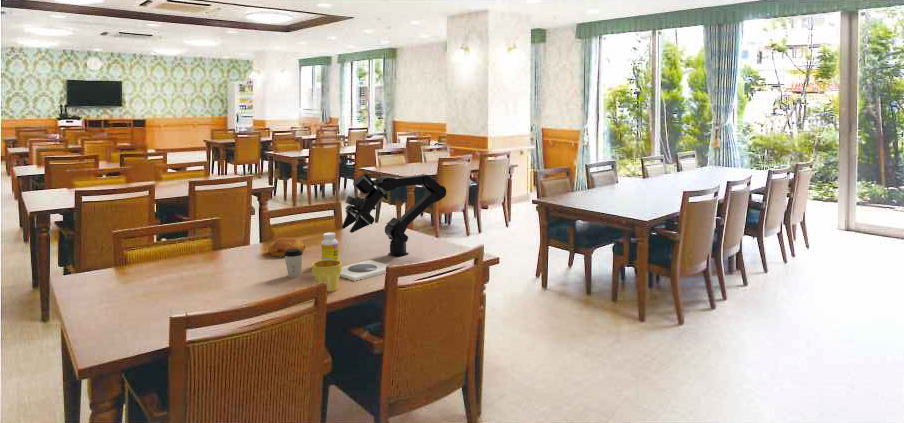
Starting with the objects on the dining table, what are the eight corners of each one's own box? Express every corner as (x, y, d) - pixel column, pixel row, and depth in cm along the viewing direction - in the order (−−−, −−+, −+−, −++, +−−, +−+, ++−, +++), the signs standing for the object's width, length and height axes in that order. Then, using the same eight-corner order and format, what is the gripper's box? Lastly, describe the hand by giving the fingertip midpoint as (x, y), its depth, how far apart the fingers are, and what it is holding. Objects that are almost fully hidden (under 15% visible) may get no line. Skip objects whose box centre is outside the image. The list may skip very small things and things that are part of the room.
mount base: (369, 262, 257) (369, 259, 257) (395, 269, 247) (395, 266, 246) (329, 273, 243) (329, 269, 243) (355, 281, 232) (355, 277, 232)
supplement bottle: (335, 267, 251) (333, 235, 249) (319, 266, 253) (318, 235, 250) (341, 262, 258) (340, 232, 256) (326, 262, 259) (324, 231, 257)
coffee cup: (307, 274, 242) (306, 249, 240) (297, 279, 235) (295, 253, 233) (291, 272, 244) (290, 247, 242) (281, 277, 238) (279, 252, 236)
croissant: (277, 254, 282) (273, 236, 281) (309, 250, 280) (306, 232, 279) (263, 261, 268) (259, 243, 267) (297, 257, 266) (293, 239, 265)
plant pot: (316, 296, 215) (314, 268, 214) (310, 287, 225) (308, 261, 223) (345, 291, 220) (344, 264, 218) (338, 284, 229) (337, 258, 227)
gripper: (349, 185, 264) (324, 214, 261) (366, 191, 248) (340, 221, 245) (367, 202, 269) (343, 230, 266) (384, 209, 253) (360, 239, 250)
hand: (346, 230), depth 256 cm, fingers open, 9 cm apart
